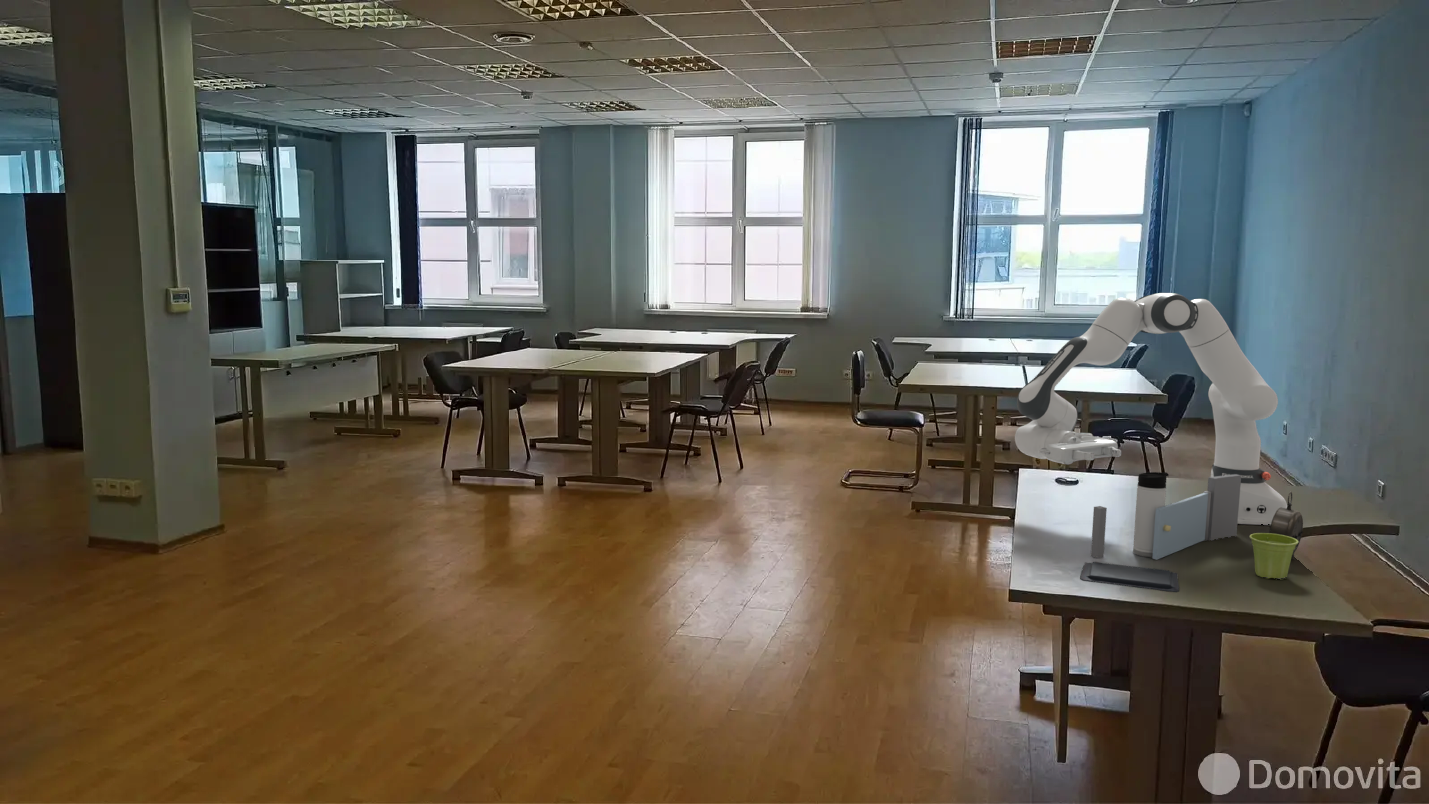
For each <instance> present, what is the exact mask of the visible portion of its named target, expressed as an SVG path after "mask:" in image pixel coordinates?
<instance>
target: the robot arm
mask: <svg viewBox="0 0 1429 804" xmlns="http://www.w3.org/2000/svg"><path fill="white" fill-rule="evenodd" d="M1140 332H1141V333H1145V334H1154V335H1155V334H1156V335H1161V334H1162V335H1163V334H1167V333H1168V334H1169V333H1170V334H1171V333H1174V334H1175V333H1179V334H1181V336H1182V338H1183V339H1184V341H1185V342H1186V345H1187V346H1188V349H1189V351H1190V352H1191V354H1192V356H1193V357H1194V359H1195V361H1196V363H1197V365H1198V366H1199V368H1200V370H1201V371H1202V372H1203V374H1204V375H1205V376H1206V377H1208V379H1209V380H1210V381H1211V384H1210V386H1209V389H1208V394H1207V395H1208V400H1209V401H1210V403H1211V404H1210V405H1211V407H1212V408H1211V409H1212V417H1213V424H1214V430H1215V447H1214V448H1215V449H1214V460H1213V464H1212V466H1211V469H1210V470H1211V472H1210V477H1216V476H1225V475H1233V474H1237V475H1241V485H1240V498H1239V510H1238V522H1237V525H1238V524H1239V525H1257V526H1258V525H1259V526H1260V525H1261V524H1263V525H1264V526H1269V525H1268V524H1271V522H1272V519H1273V516H1274V514H1275V513H1276V511H1277V510H1278V509H1279V508H1280V507H1282V508H1287V506H1288V505H1287V504H1288V503H1287V500H1286V499H1285V498H1284V496H1282V495H1281V493H1279V492H1278V491H1277V490H1275V489H1274V488H1273V487H1272V486H1270V485H1269V484H1268V483H1267V481H1269V480H1270V479H1271V478H1272V475H1271V474H1270V472H1268V471H1265V470H1264V469H1262V468H1260V458H1261V448H1262V447H1261V445H1262V441H1261V439H1262V438H1261V436H1260V435H1259V431H1258V429H1257V428H1258V427H1257V422H1256V421H1260V420H1266V419H1267V418H1270V416H1272V415H1273V414H1274V413H1275V411H1276V410H1277V408H1278V405H1279V399H1278V395H1277V393H1276V391H1275V390H1274V389H1273V388H1272V387H1271V386H1269V384H1268V383H1267V382H1266V380H1265V379H1264V378H1263V377H1262V375H1261V374H1260V372H1258V370H1257V369H1256V367H1255V366H1254V365H1253V364H1252V363H1251V362H1250V360H1249V359H1248V357H1247V356H1246V355H1245V353H1244V352H1243V351H1242V349H1241V347H1240V345H1239V343H1238V342H1237V339H1236V338H1235V336H1234V335H1233V333H1232V331H1231V330H1230V328H1229V326H1228V324H1227V322H1226V321H1225V319H1224V317H1223V316H1222V315H1221V313H1220V312H1219V311H1218V309H1217V308H1216V307H1215V306H1214V305H1213V303H1212V302H1211V301H1209V300H1208V299H1205V298H1195V299H1191V300H1190V299H1188V298H1187V297H1186V296H1184V295H1182V294H1179V293H1174V292H1159V293H1153V294H1149V295H1143V296H1141V297H1139V298H1137V299H1135V300H1132V299H1130V298H1127V297H1117V298H1115V299H1113V300H1112V301H1110V303H1108V304H1107V306H1105V308H1104V309H1103V310H1102V311H1101V312H1100V313H1099V315H1098V316H1097V317H1096V318H1095V320H1094V321H1093V322H1092V324H1091V326H1089V328H1087V331H1085V332H1084V333H1083V334H1082V335H1080V336H1075V337H1073V338H1071V339H1070V340H1068V341H1067V342H1066V343H1064V345H1063V346H1062V347H1061V348H1059V350H1058V351H1057V352H1056V353H1055V354H1054V356H1053V357H1052V358H1051V359H1050V360H1049V361H1048V362H1047V363H1046V365H1045V366H1044V367H1043V368H1042V369H1041V370H1040V371H1039V372H1038V374H1036V375H1035V376H1034V377H1033V378H1032V380H1030V381H1029V382H1028V383H1026V384H1025V385H1024V386H1023V387H1022V388H1021V389H1020V391H1019V392H1018V395H1017V398H1016V406H1017V407H1016V408H1017V410H1018V412H1019V413H1020V414H1021V415H1022V416H1024V417H1026V418H1027V419H1030V420H1031V421H1030V422H1028V423H1026V424H1025V425H1021V426H1019V427H1018V428H1017V429H1016V431H1015V434H1014V442H1015V445H1016V447H1017V449H1018V450H1019V451H1020V452H1021V453H1023V455H1027V456H1029V457H1033V458H1036V459H1040V460H1046V459H1047V460H1048V461H1051V462H1053V463H1054V462H1055V463H1058V464H1064V465H1071V464H1073V463H1075V462H1078V461H1085V460H1086V461H1094V460H1095V459H1099V458H1101V459H1102V458H1108V457H1114V458H1115V457H1116V458H1117V457H1118V458H1119V457H1121V456H1122V450H1121V449H1119V446H1118V443H1117V442H1116V441H1114V440H1112V439H1108V438H1105V437H1101V436H1094V435H1093V434H1092V433H1090V432H1075V431H1073V430H1074V429H1075V427H1076V424H1077V422H1078V418H1079V417H1078V416H1079V415H1078V414H1079V413H1078V409H1077V408H1076V407H1075V406H1074V405H1073V404H1072V403H1070V402H1069V401H1068V400H1067V399H1065V398H1064V397H1062V396H1060V395H1059V394H1058V393H1056V391H1055V389H1056V387H1057V385H1058V384H1059V383H1060V382H1061V380H1063V379H1064V377H1065V376H1066V375H1067V374H1068V373H1069V372H1070V371H1071V370H1072V369H1073V368H1074V367H1075V366H1077V365H1079V364H1089V365H1093V366H1094V365H1095V366H1107V365H1110V364H1113V363H1115V362H1116V361H1118V360H1119V359H1120V358H1121V357H1122V355H1123V354H1124V353H1125V351H1126V350H1127V348H1128V347H1129V345H1130V344H1131V342H1132V340H1133V339H1134V337H1135V336H1136V335H1137V334H1138V333H1140ZM1263 525H1261V526H1263Z"/></svg>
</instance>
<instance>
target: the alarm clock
mask: <svg viewBox="0 0 1429 804" xmlns="http://www.w3.org/2000/svg"><path fill="white" fill-rule="evenodd" d="M1292 502H1293V493H1292V491H1291V490H1290V491H1289V492H1288V495H1287V503H1286V504H1287V508H1282V507H1280V508H1279V509H1278V510H1277V511H1276V513H1275V514H1274V516H1273V519H1272V522H1271V525H1269V526H1270V527H1269V531H1268V533H1271V534H1279V535H1285V536H1289V537H1292V538H1295V539H1297V540H1298V544H1296V546H1295V549H1294V550H1293V554H1292V557H1291V558H1292V559H1293V560H1294V561H1295V560H1296V558H1295V552H1296V551H1297V549H1298V547H1299V545H1300V543H1301V539H1302V535H1303V534H1304V531H1303V528H1304V526H1303V525H1304V517H1303V515H1302V513H1301V512H1300V511H1299V510H1297V509H1292V505H1293V504H1292ZM1293 557H1294V558H1295V559H1294V558H1293Z"/></svg>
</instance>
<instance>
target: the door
mask: <svg viewBox="0 0 1429 804" xmlns="http://www.w3.org/2000/svg"><path fill="white" fill-rule="evenodd" d="M1210 501H1211V492H1209V491H1207V490H1205V491H1203V493H1199V494H1197V495H1193V496H1190V497H1187V498H1184V499H1182V500H1179V501H1175V502H1172V503H1169V504H1165V506H1163V507H1160V508H1157V509H1156V515H1155V529H1154V544H1153V557H1151V558H1152V560H1156V561H1157V560H1160V559H1162V558H1164V557H1167V556H1169V555H1171V554H1174V553H1176V552H1179V551H1182V550H1184V549H1186V548H1189V547H1191V546H1194V545H1197V544H1199V543H1201V542H1203V541H1205V542H1206V541H1208V540H1207V539H1208V526H1209V513H1210Z"/></svg>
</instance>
